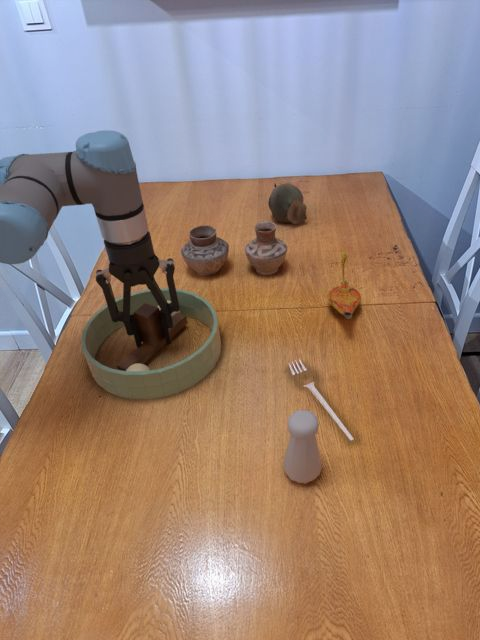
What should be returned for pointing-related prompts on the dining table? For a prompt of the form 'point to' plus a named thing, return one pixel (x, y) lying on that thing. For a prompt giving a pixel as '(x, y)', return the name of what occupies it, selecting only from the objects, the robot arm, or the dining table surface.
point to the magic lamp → (344, 295)
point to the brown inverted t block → (150, 334)
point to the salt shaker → (302, 447)
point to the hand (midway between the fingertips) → (154, 342)
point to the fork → (321, 399)
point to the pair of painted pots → (212, 251)
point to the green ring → (159, 379)
